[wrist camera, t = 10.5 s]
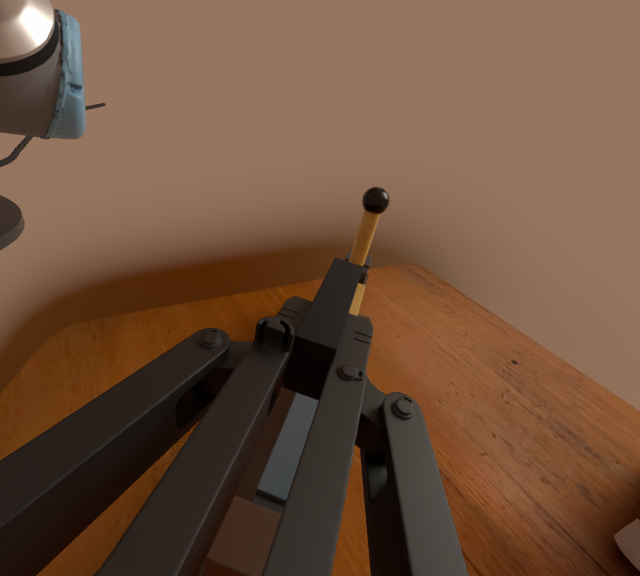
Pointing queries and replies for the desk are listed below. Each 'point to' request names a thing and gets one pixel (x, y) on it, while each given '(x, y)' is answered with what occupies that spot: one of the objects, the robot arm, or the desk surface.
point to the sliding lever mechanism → (267, 480)
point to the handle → (630, 542)
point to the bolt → (368, 222)
